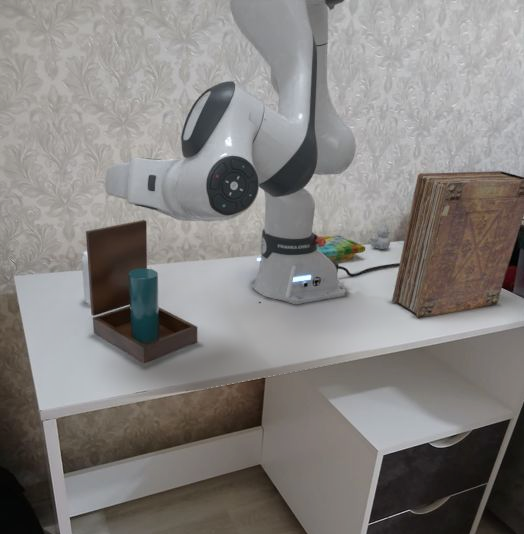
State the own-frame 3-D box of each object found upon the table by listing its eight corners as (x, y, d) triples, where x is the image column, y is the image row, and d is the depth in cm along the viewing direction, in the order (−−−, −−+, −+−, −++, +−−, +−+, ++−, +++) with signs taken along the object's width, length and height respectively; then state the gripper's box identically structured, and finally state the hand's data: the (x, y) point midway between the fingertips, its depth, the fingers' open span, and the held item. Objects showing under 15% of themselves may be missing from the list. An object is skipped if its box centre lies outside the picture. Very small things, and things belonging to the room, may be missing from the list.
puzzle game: (284, 238, 154) (339, 232, 164) (282, 254, 157) (337, 247, 166) (308, 251, 146) (366, 243, 155) (306, 268, 148) (363, 259, 158)
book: (416, 318, 125) (447, 183, 110) (391, 302, 132) (417, 173, 118) (497, 304, 135) (534, 179, 121) (469, 290, 142) (502, 170, 128)
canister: (156, 329, 109) (155, 267, 103) (161, 342, 105) (160, 278, 99) (129, 332, 108) (126, 269, 101) (133, 344, 103) (130, 279, 97)
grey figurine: (393, 251, 167) (398, 225, 163) (374, 252, 165) (378, 225, 161) (383, 245, 171) (388, 219, 167) (365, 246, 169) (369, 220, 165)
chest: (197, 345, 107) (197, 326, 105) (144, 367, 98) (143, 347, 96) (146, 318, 115) (146, 300, 113) (94, 336, 107) (92, 317, 105)
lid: (146, 220, 105) (130, 213, 107) (88, 232, 96) (72, 224, 99) (147, 299, 113) (132, 290, 116) (93, 316, 104) (78, 306, 107)
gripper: (251, 180, 86) (215, 184, 98) (121, 154, 76) (98, 162, 88) (247, 221, 87) (211, 220, 99) (118, 201, 77) (95, 202, 89)
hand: (157, 193), depth 93 cm, fingers open, 8 cm apart
